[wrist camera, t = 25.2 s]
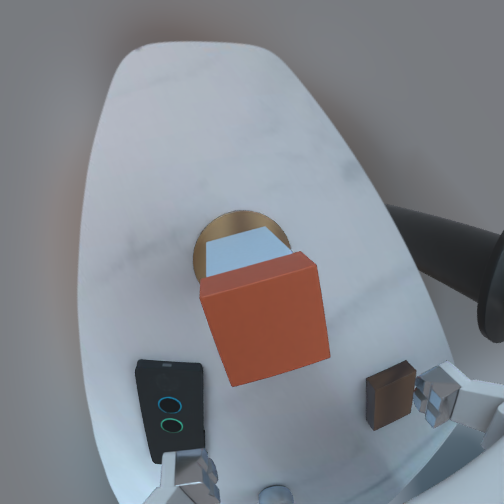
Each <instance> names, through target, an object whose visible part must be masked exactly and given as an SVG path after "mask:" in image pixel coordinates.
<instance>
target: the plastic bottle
mask: <svg viewBox="0 0 504 504" xmlns="http://www.w3.org/2000/svg"><path fill="white" fill-rule="evenodd" d="M259 504H294V500H293V495H292V493H291V491H290V490H289V489H287V488H286V487H284V486H273V487H269V488H266V489H264V490H263V491H262V492H261V493H260V495H259Z"/></svg>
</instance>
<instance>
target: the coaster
mask: <svg viewBox="0 0 504 504" xmlns="http://www.w3.org/2000/svg"><path fill="white" fill-rule="evenodd" d="M264 226H266V227H267V228H268V229H269V230H270V231H271V232H272V233H273V234H274V235H275V236H276V237H277V238H278V239H279V240H280V241H281V242H283V243H284V244H285V245H286V246H287V247H288V248H289V249H290V250H291V248H290V244H289V241H288V239H287V236H286V235H285V233H284V231H283V230H282V229H281V228H280V226H279V225H278V224H277V223H275V222H274V221H273V220H272V219H270V218H269V217H267V216H265V215H263V214H260V213H257V212H253V211H244V210H243V211H234V212H229V213H226V214H224V215H222V216H220V217H218V218H216V219H215V220H213V221H212V222H211V223H210V224H208V225H207V226H206V228H205V229H204V230H203V231H202V233H201V234H200V236H199V238H198V240H197V242H196V245H195V248H194V254H193V266H194V271H195V275H196V277H197V280H198V282H199V283H200V279H202V278H206V242H209V241H212V240H216V239H220V238H223V237H227V236H231V235H234V234H238V233H242V232H245V231H249V230H253V229H257V228H260V227H264Z"/></svg>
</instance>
